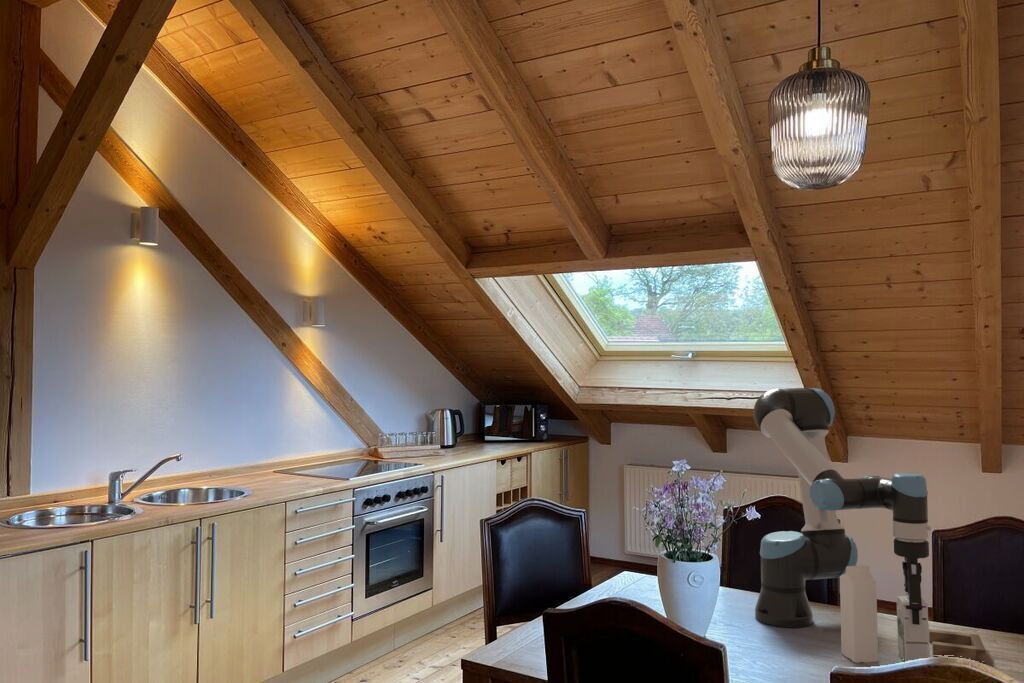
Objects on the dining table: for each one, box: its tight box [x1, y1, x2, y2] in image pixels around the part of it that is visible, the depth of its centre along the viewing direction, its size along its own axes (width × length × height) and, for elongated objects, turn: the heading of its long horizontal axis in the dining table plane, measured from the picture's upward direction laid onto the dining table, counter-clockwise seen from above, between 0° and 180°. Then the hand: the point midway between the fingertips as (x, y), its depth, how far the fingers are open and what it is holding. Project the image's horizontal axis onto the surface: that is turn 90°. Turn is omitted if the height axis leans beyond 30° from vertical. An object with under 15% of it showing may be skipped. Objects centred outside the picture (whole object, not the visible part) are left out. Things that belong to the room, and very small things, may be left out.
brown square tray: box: [929, 628, 987, 664], centre depth 193 cm, size 11×12×3 cm
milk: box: [839, 564, 879, 664], centre depth 189 cm, size 6×6×22 cm
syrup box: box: [896, 595, 931, 662], centre depth 188 cm, size 6×6×14 cm
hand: (913, 629), depth 187 cm, fingers open, 13 cm apart
